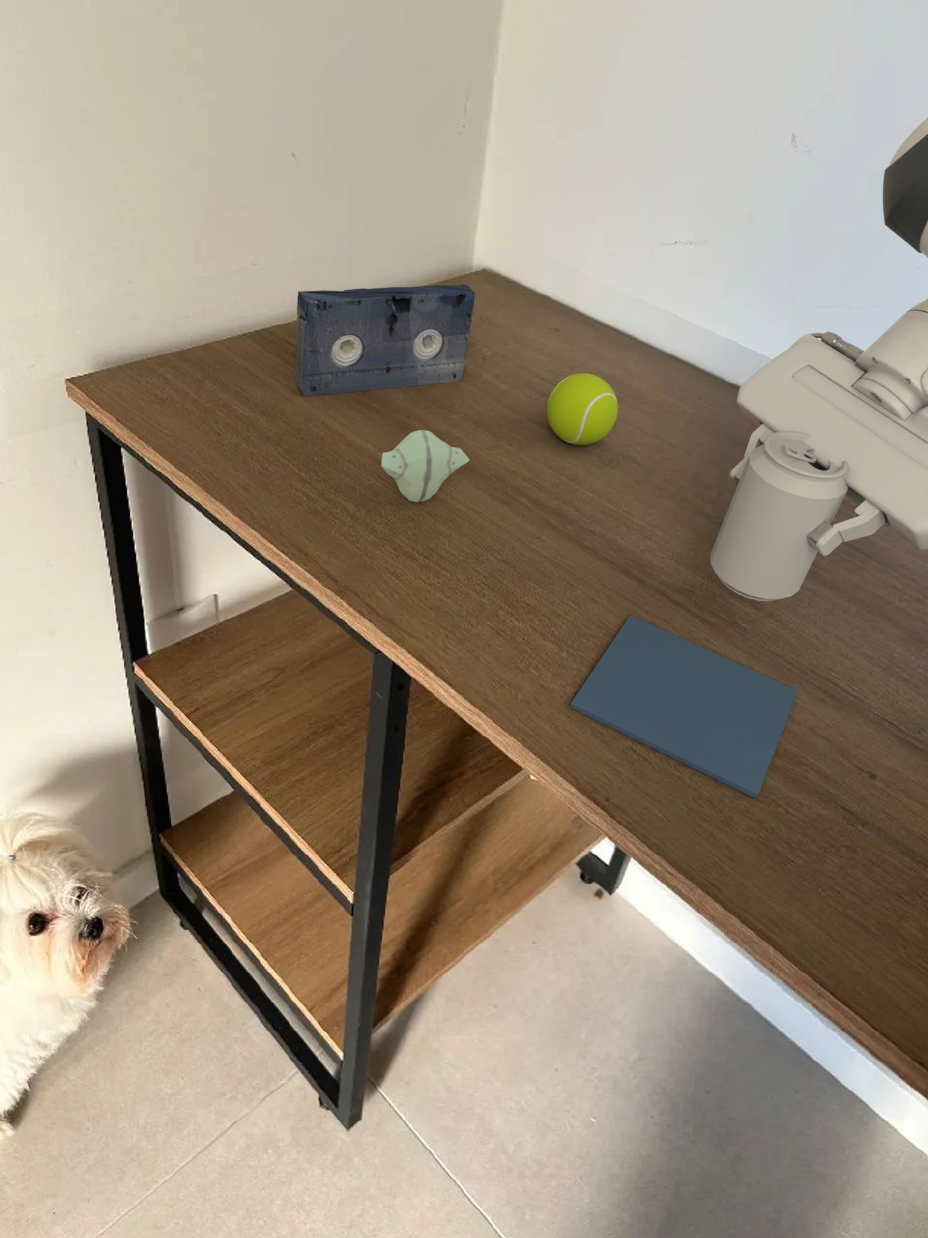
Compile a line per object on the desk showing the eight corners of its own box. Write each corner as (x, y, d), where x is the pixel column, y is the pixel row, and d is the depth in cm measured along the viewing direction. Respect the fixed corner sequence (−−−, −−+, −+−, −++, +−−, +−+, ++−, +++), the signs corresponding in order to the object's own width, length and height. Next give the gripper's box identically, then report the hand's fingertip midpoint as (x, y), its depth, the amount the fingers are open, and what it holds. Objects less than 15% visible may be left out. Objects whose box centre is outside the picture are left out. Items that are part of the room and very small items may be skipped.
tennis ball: (621, 448, 96) (639, 386, 91) (574, 465, 92) (590, 401, 87) (574, 416, 99) (589, 355, 95) (527, 431, 95) (540, 368, 91)
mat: (795, 695, 71) (798, 690, 71) (755, 799, 63) (757, 794, 62) (628, 619, 75) (630, 614, 75) (569, 707, 67) (570, 702, 66)
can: (807, 613, 73) (872, 485, 65) (715, 601, 73) (769, 471, 65) (785, 555, 79) (842, 431, 71) (699, 544, 78) (747, 417, 70)
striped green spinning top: (378, 516, 81) (385, 449, 76) (366, 489, 83) (372, 423, 79) (465, 509, 83) (476, 444, 79) (450, 483, 86) (460, 419, 82)
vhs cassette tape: (454, 370, 103) (467, 282, 96) (465, 383, 101) (479, 294, 95) (292, 382, 96) (294, 288, 89) (301, 397, 94) (304, 301, 87)
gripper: (808, 298, 73) (677, 424, 75) (1030, 429, 60) (865, 576, 63) (825, 346, 78) (701, 463, 80) (1034, 476, 65) (880, 611, 67)
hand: (774, 514), depth 71 cm, fingers closed on can, 7 cm apart
